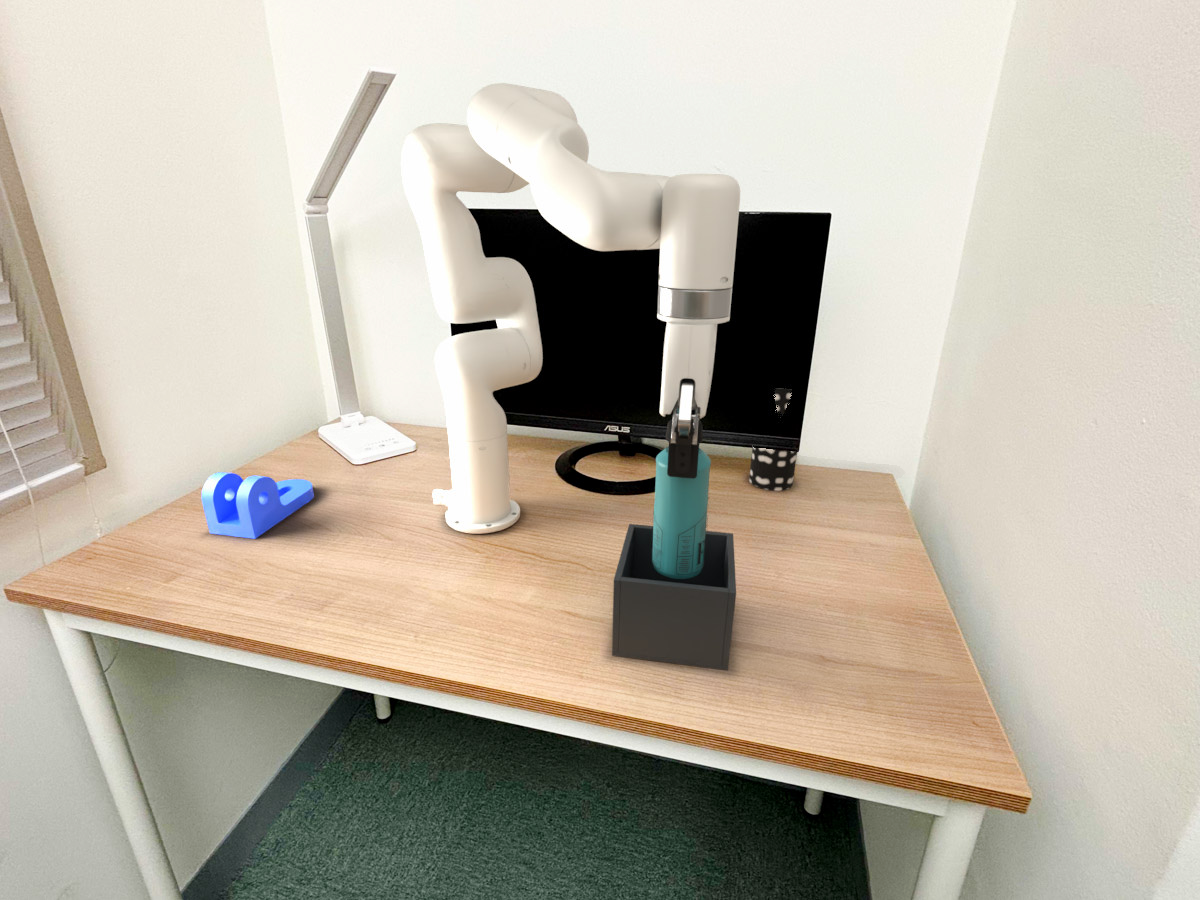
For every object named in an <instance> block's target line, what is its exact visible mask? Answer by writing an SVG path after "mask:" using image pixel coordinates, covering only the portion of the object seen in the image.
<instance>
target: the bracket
mask: <svg viewBox="0 0 1200 900" xmlns="http://www.w3.org/2000/svg"><path fill="white" fill-rule="evenodd" d="M313 488H314V487H313V483H312V482H311V481H309V480H306V479H301V478H295V479H294V478H292V479H284V480H280V481H275V479H273V478H272V477H271V476H265V475H263V476H262V475H251V476H248V477H246V478H245V479H243V478H242V477H241V476H240V475H239V474H237V473H233V472H222V471H220V472H215V473H213V474H211V475H210V476H209V477H208V478H207V479H206V481H205V483H204V484H203V487H202V489H201V503H202V506H203V507H202V508H203V512H204V515H205V520H206V524H207V527H208V531H209V534H211V535H212V534H213V535H221V536H229V537H238V538H245V539H254V540H255V539H257V538H259V537H260V536H262V535H263V534H264V533H266V532H267V531H269V530H270V529H271V528H273V527H274V526H276V525H277V524H279V523H280V522H282V521H284V520H285V519H286V518H288V517H289V516H291V515H293V513H295V512H296V511H298V510H300V508H302V507H303V506H305V505H306V504H308V503H309V502H311V501H312V500H313V499H314V498H315V494H314V493H315V492H314V489H313Z"/></svg>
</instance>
